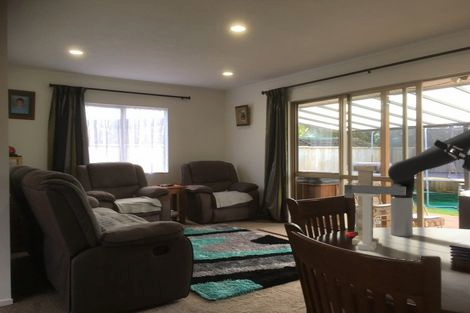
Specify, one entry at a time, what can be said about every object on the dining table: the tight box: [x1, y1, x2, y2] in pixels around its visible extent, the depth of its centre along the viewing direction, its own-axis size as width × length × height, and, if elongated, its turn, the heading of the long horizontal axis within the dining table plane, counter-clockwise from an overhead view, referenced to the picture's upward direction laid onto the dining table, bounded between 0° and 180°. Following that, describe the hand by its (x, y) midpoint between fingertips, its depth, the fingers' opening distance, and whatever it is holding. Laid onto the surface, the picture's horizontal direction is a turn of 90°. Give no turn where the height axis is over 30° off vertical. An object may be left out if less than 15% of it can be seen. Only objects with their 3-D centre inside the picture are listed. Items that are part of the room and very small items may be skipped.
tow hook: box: [344, 207, 358, 238], centre depth 168 cm, size 8×13×9 cm
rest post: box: [354, 193, 380, 252], centre depth 144 cm, size 6×8×22 cm
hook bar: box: [343, 184, 406, 199], centre depth 143 cm, size 3×22×5 cm, turn 61°
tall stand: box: [351, 164, 380, 247], centre depth 152 cm, size 8×9×32 cm
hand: (435, 142), depth 136 cm, fingers open, 8 cm apart
